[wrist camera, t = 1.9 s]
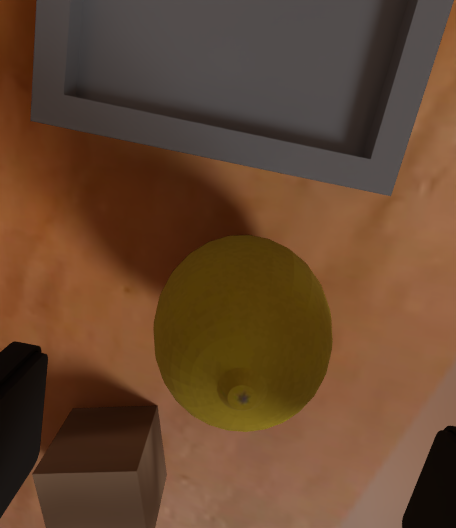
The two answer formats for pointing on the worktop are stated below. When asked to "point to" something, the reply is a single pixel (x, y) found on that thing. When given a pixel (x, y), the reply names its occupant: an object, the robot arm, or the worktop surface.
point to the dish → (244, 79)
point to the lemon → (243, 333)
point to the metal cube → (103, 470)
